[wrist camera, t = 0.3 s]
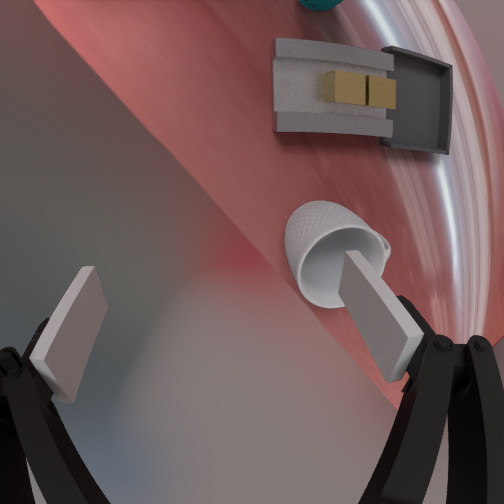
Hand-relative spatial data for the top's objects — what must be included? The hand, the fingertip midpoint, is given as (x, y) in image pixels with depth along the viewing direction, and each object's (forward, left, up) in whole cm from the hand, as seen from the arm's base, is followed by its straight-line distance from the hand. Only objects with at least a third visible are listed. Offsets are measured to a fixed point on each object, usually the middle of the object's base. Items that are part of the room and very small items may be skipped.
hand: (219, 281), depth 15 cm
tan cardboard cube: (-11, +20, -25) cm, 34 cm away
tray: (-11, +29, -26) cm, 41 cm away
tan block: (-11, +16, -25) cm, 32 cm away
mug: (+9, +14, -27) cm, 31 cm away
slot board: (-11, +15, -26) cm, 32 cm away
